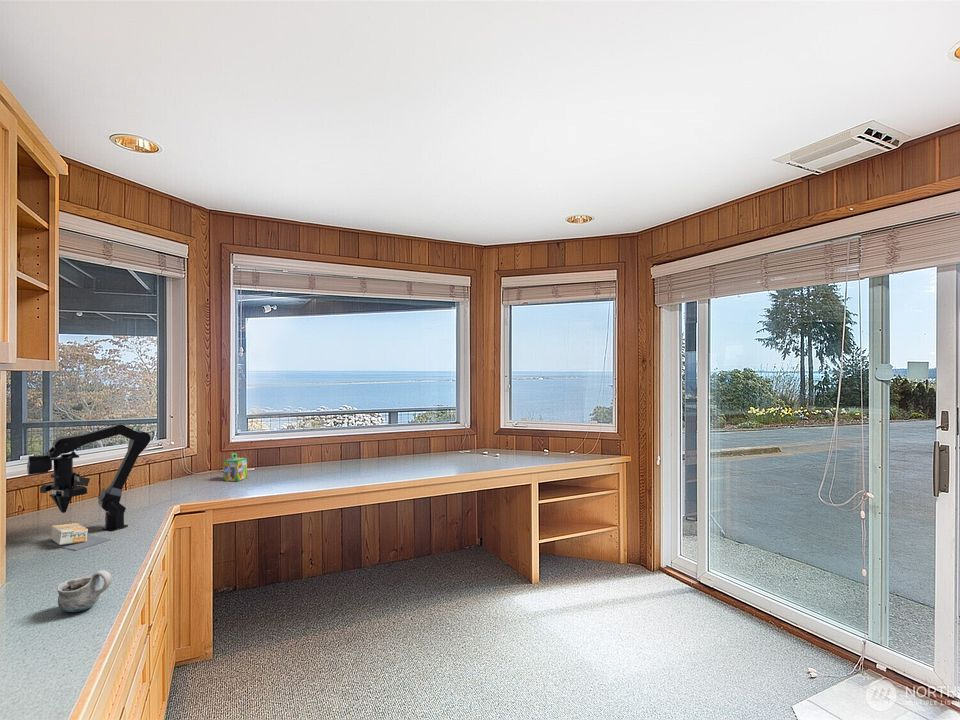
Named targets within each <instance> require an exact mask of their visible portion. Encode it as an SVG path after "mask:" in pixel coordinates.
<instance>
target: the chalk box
mask: <svg viewBox="0 0 960 720" xmlns="http://www.w3.org/2000/svg"><path fill="white" fill-rule="evenodd" d="M234 455H235V457H234ZM230 456H231V457H230V458H226V459H223V460H222V465H223V466H222V475H223V477H222V479H223V480H222V481H223V482H239V481H243V480H246V479H247V478H248V458H247V457H238V454H237V452H232V453H230Z"/></svg>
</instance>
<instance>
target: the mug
mask: <svg viewBox="0 0 960 720" xmlns="http://www.w3.org/2000/svg"><path fill="white" fill-rule="evenodd" d="M101 577H102V579H103V581H104V583H103V585H102V587H100V580H101ZM111 583H112V575H111V573H110V572H109V571H108V570H104V569H100V570H97V571H96V572H94V573H93V574H92V575H91V576H85V577H79V578H74V579H69V580H65V581H64V582H62V583H60V584H58V586H57V587H56V588H57V589H56V590H57V593H58V596H57V605H58V608H59V609H60V610H61V611H62V612H66V613H77V612H82V611H85V610H88V609H89V608H91V607H93V606H94V605H95V604H96V603H97V602H98V601H99V599H100V598H101V597H100V596H101V594H102V593H104V592H105V591H106V590H107V589H108V588H109V587H110V585H111Z"/></svg>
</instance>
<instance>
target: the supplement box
mask: <svg viewBox="0 0 960 720" xmlns="http://www.w3.org/2000/svg"><path fill="white" fill-rule="evenodd" d="M88 531H89V529H88V528H87V527H85V526H84V525H82V524H80V523H78V522H74V523H73V522H72V523H66V524H53V525H51V526H50V534H49V539H51V540H52V541H54V542H57V543H58V544H59V545H62V544H71V543H80V542H86V541H87V535H88V533H89V532H88Z"/></svg>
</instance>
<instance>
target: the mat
mask: <svg viewBox="0 0 960 720" xmlns="http://www.w3.org/2000/svg"><path fill="white" fill-rule="evenodd" d="M111 540H112V539H111V538H107V537H101V536H96V535H91V534H87V541H86V542H80V543H71V544H62V545H59V544H58V543H57V542H55V541H54V542H50V543H48V544H49V545H48V546H51V545H53V547H56V546H57V547H56V548H61V547H62V549H65V548H67V550H71V551H79V550H83V549H87V548H89V547H94V546H96V545H99V544H102V543H106V542H108V541H111Z"/></svg>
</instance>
